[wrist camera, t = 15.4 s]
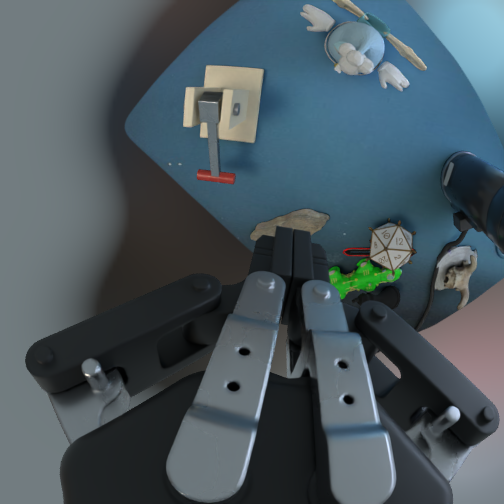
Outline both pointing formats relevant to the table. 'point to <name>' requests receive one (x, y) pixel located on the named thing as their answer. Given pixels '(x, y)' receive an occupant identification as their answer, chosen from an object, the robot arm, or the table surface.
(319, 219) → the stone
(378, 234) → the game die
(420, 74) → the table surface
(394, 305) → the chess piece
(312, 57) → the table surface
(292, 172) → the table surface
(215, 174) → the lever
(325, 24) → the toy figure
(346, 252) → the red paper clip
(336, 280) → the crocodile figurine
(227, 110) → the lever stand
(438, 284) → the skull
